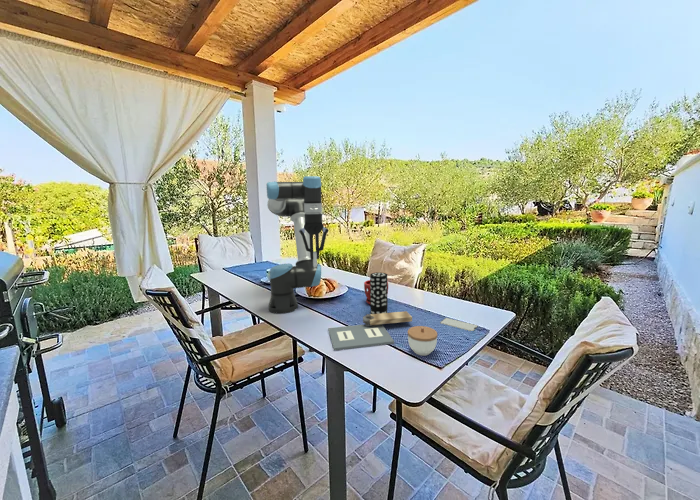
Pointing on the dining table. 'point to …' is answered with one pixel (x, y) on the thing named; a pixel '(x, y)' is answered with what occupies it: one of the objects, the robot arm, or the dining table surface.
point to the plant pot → (367, 293)
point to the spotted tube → (378, 293)
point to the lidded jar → (422, 339)
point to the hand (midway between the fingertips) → (315, 266)
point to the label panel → (359, 336)
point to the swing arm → (387, 318)
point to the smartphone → (459, 324)
